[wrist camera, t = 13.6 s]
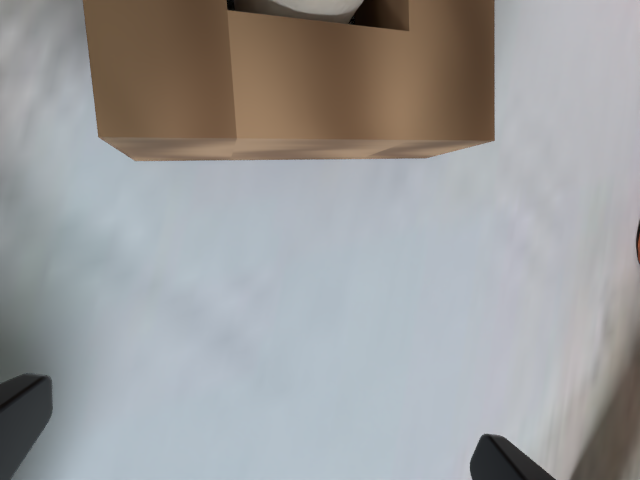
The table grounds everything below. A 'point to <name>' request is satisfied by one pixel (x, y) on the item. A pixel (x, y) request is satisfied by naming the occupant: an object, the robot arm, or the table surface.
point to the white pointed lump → (302, 9)
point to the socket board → (291, 80)
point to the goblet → (639, 248)
